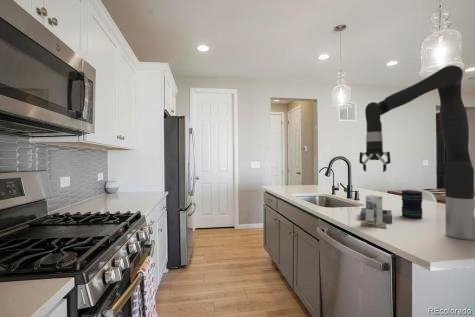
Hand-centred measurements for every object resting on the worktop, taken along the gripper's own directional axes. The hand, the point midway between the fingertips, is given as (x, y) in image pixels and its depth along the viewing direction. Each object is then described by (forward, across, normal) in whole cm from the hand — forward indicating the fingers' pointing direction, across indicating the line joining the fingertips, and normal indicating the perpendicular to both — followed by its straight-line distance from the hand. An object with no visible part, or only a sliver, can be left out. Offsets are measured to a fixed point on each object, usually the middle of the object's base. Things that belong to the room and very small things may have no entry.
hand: (374, 171), depth 127 cm
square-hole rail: (+27, 0, +12) cm, 30 cm away
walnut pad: (+28, -1, -2) cm, 28 cm away
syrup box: (+27, 0, -2) cm, 27 cm away
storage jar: (+28, +19, +26) cm, 43 cm away
